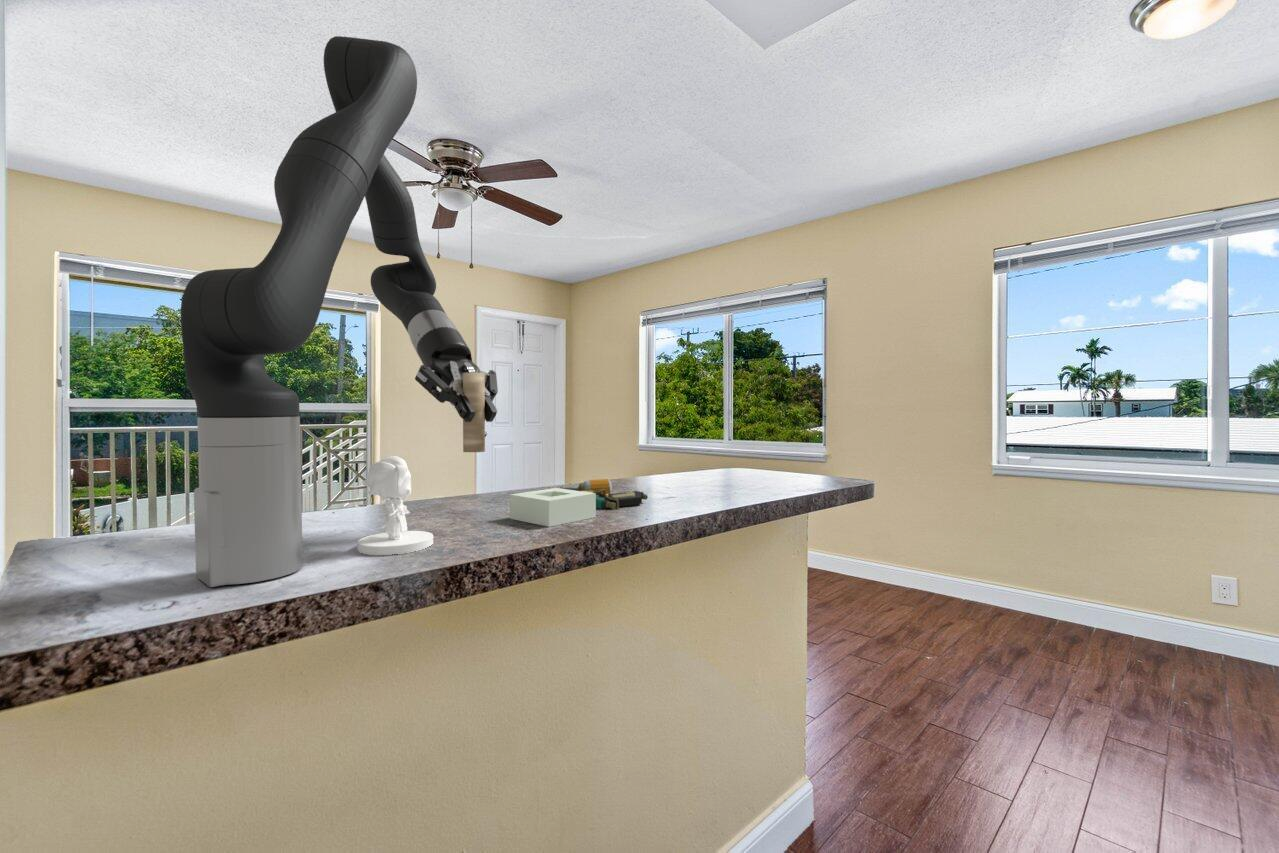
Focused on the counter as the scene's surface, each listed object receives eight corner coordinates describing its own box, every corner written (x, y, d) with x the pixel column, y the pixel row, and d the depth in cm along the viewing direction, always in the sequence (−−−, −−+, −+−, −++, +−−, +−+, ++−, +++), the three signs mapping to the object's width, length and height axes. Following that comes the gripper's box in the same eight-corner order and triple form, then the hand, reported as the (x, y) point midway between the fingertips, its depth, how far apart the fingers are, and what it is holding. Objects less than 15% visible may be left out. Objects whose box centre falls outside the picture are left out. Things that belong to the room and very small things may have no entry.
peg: (470, 452, 84) (470, 372, 84) (459, 451, 86) (458, 373, 86) (489, 451, 86) (488, 373, 86) (477, 450, 88) (476, 374, 88)
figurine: (406, 557, 69) (404, 459, 68) (341, 553, 71) (339, 458, 70) (446, 540, 78) (445, 453, 77) (387, 537, 80) (386, 452, 79)
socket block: (549, 526, 86) (549, 500, 86) (509, 518, 93) (509, 494, 93) (595, 517, 94) (595, 493, 94) (556, 510, 100) (556, 487, 100)
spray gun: (655, 510, 107) (588, 522, 97) (605, 494, 120) (542, 503, 111) (655, 487, 106) (588, 498, 97) (605, 474, 119) (542, 482, 110)
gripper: (405, 320, 85) (448, 399, 78) (484, 330, 96) (530, 401, 88) (389, 357, 89) (429, 436, 81) (467, 363, 100) (509, 434, 92)
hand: (481, 417), depth 85 cm, fingers closed on peg, 3 cm apart
